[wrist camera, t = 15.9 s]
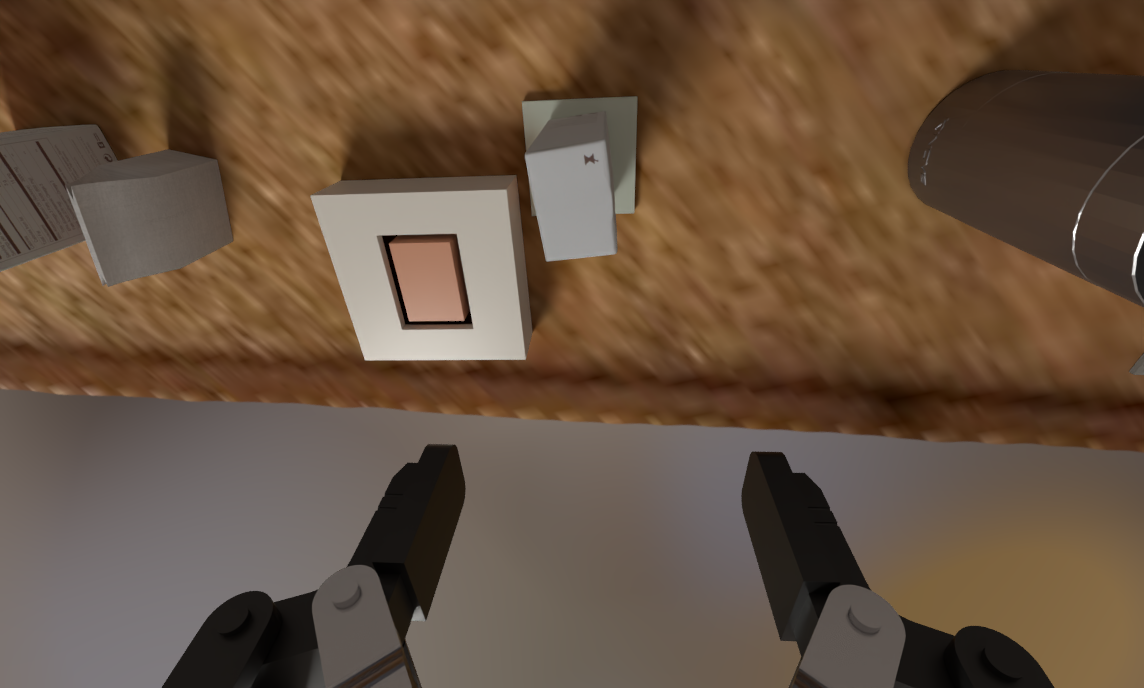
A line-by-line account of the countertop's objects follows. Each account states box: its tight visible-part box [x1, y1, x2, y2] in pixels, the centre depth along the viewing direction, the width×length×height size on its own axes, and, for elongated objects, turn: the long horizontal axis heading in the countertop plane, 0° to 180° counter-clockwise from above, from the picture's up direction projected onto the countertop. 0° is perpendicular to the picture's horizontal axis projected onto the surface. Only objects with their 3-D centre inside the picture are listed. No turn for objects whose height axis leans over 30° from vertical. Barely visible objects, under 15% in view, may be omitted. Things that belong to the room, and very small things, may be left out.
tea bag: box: [65, 149, 233, 287], centre depth 34 cm, size 4×7×10 cm, turn 169°
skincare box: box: [525, 111, 617, 261], centre depth 29 cm, size 6×4×12 cm
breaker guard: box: [310, 175, 532, 360], centre depth 38 cm, size 14×14×4 cm
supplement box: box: [0, 125, 118, 272], centre depth 32 cm, size 7×7×13 cm
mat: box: [522, 96, 637, 216], centre depth 35 cm, size 8×8×1 cm
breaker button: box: [389, 234, 470, 321], centre depth 38 cm, size 5×7×4 cm
